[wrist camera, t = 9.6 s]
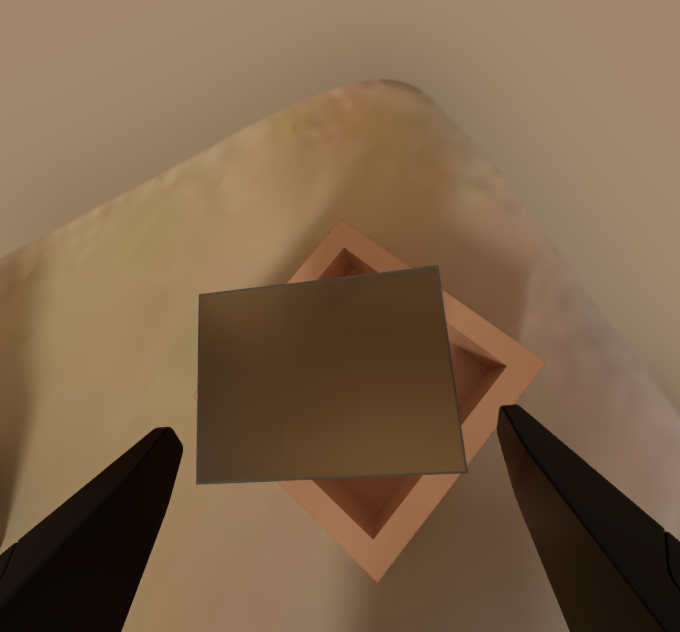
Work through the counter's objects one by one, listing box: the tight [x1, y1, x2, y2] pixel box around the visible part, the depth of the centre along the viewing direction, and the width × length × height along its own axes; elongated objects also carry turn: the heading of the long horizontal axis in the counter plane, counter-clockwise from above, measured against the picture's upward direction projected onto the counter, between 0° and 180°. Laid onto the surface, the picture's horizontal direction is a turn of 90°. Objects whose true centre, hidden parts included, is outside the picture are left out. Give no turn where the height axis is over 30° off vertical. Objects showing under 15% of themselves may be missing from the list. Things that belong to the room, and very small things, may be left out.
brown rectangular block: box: [196, 265, 468, 485], centre depth 14 cm, size 5×6×12 cm
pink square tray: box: [193, 219, 546, 583], centre depth 19 cm, size 12×12×4 cm
